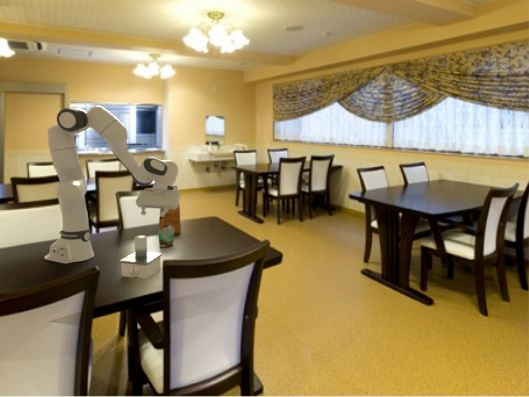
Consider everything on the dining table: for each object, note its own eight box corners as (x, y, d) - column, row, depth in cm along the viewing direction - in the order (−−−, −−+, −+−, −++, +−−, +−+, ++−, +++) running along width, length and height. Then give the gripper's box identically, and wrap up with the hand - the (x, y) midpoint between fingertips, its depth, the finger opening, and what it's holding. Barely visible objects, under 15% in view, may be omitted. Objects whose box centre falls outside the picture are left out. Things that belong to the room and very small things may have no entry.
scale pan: (119, 262, 167) (119, 260, 166) (135, 252, 179) (135, 251, 179) (147, 265, 164) (147, 263, 164) (161, 255, 176) (161, 253, 176)
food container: (169, 249, 204) (168, 231, 202) (158, 248, 205) (157, 230, 203) (178, 242, 216) (178, 225, 214) (168, 242, 217) (167, 224, 215)
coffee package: (159, 231, 238) (157, 195, 234) (179, 229, 242) (178, 194, 238) (160, 235, 229) (158, 198, 225) (181, 233, 233) (180, 197, 229)
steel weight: (133, 258, 169) (132, 238, 168) (139, 254, 174) (138, 235, 173) (143, 259, 168) (142, 239, 167) (149, 255, 173) (148, 235, 172)
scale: (121, 276, 168) (120, 263, 167) (137, 266, 180) (136, 253, 179) (146, 279, 165) (146, 265, 164) (160, 268, 177) (160, 256, 176)
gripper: (139, 185, 186) (128, 210, 179) (179, 187, 182) (170, 212, 174) (144, 193, 191) (134, 217, 184) (183, 195, 187) (174, 220, 179)
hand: (152, 215), depth 179 cm, fingers open, 8 cm apart
